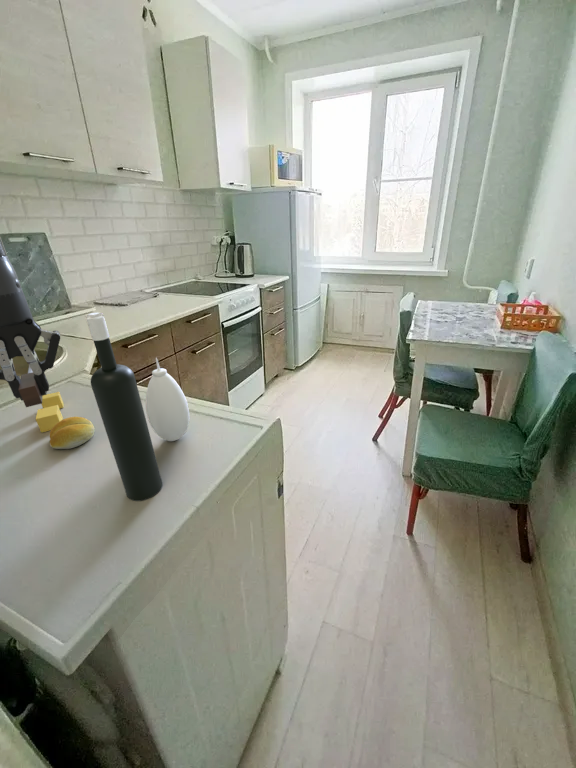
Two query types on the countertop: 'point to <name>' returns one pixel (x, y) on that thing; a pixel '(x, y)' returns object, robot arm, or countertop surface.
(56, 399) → the butter pat
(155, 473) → the wine bottle
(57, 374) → the countertop surface
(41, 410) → the butter block
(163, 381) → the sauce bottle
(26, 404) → the knife
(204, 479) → the countertop surface
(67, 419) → the bread roll
